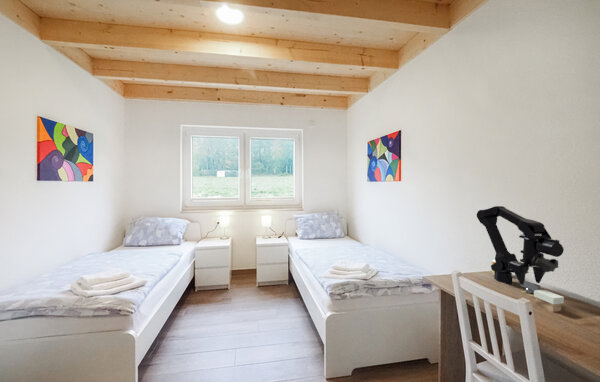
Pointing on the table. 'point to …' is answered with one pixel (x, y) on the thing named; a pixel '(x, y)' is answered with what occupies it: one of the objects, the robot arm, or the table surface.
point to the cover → (548, 296)
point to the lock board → (546, 304)
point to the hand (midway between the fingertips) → (529, 283)
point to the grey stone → (530, 287)
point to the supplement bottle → (492, 264)
